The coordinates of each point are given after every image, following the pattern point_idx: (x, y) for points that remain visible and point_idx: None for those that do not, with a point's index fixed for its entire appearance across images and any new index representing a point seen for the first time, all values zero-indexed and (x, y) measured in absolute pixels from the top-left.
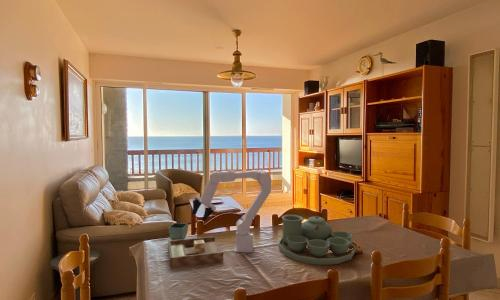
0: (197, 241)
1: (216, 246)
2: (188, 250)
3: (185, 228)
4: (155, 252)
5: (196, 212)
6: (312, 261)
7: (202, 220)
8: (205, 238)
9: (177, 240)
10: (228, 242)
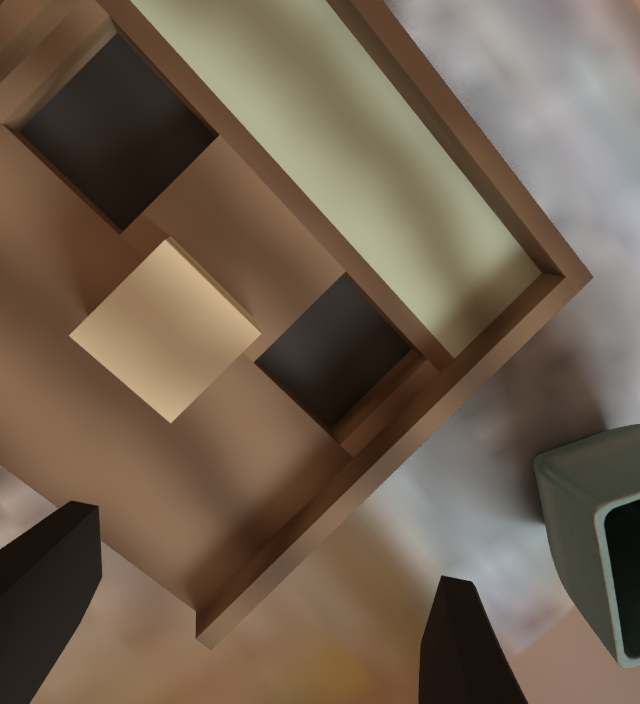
0: (199, 334)
1: (57, 487)
2: (264, 234)
3: (589, 577)
4: (596, 133)
5: (421, 700)
6: None
7: (85, 504)
8: (273, 556)
9: (507, 333)
10: (113, 700)
